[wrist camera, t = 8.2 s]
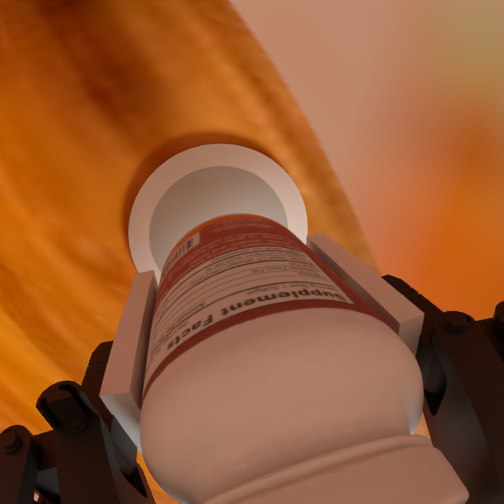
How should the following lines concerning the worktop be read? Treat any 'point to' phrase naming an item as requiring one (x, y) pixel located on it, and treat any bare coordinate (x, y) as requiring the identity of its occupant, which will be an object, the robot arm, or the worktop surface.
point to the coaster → (208, 198)
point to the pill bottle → (279, 381)
